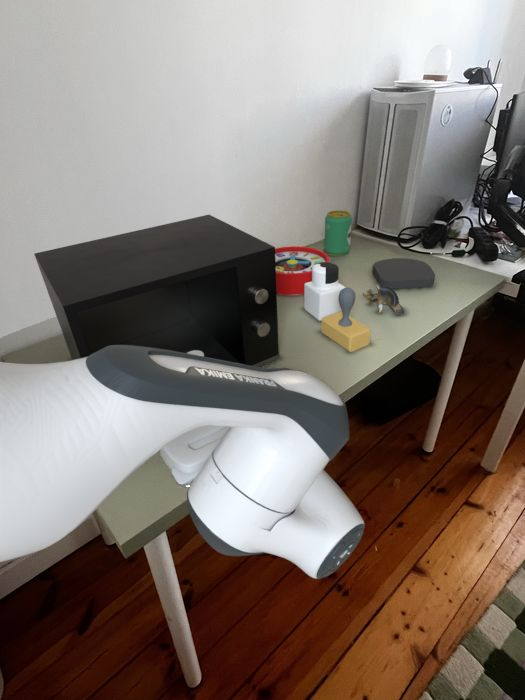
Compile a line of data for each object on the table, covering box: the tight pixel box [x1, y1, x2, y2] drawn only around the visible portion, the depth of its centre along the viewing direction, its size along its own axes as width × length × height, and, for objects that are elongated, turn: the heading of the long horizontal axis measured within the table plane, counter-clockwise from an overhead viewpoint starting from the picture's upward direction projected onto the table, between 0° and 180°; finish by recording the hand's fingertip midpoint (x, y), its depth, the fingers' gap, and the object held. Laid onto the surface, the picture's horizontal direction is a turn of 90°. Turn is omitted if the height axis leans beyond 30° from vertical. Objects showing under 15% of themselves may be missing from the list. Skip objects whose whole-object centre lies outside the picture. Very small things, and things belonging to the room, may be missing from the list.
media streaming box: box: [372, 257, 436, 289], centre depth 118 cm, size 15×15×3 cm
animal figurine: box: [362, 284, 406, 316], centre depth 103 cm, size 8×7×9 cm
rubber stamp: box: [320, 287, 372, 353], centre depth 91 cm, size 10×6×12 cm, turn 31°
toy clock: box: [275, 245, 330, 296], centre depth 120 cm, size 20×6×20 cm
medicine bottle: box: [303, 261, 347, 322], centre depth 102 cm, size 7×7×12 cm
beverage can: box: [323, 209, 353, 257], centre depth 134 cm, size 8×8×12 cm
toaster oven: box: [33, 214, 280, 367], centre depth 84 cm, size 36×27×24 cm
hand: (209, 397), depth 64 cm, fingers open, 8 cm apart
